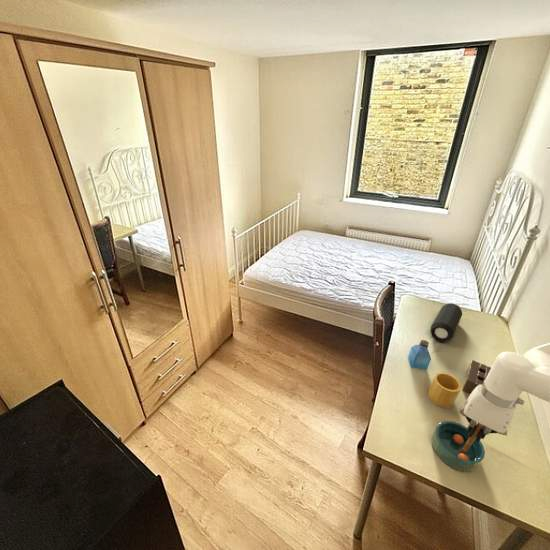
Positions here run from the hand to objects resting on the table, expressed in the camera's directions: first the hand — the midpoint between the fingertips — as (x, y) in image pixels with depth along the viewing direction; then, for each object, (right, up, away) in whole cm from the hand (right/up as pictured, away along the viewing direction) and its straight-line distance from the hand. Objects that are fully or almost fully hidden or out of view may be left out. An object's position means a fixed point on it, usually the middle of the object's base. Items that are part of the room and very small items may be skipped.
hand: (474, 435), depth 86 cm
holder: (+22, +3, +31) cm, 38 cm away
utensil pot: (+4, 0, +25) cm, 26 cm away
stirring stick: (0, -9, +6) cm, 11 cm away
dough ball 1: (+1, -6, +9) cm, 11 cm away
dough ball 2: (-1, -9, +4) cm, 10 cm away
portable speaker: (+27, +20, +62) cm, 70 cm away
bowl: (-1, -9, +8) cm, 12 cm away
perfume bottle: (+3, +9, +41) cm, 42 cm away
